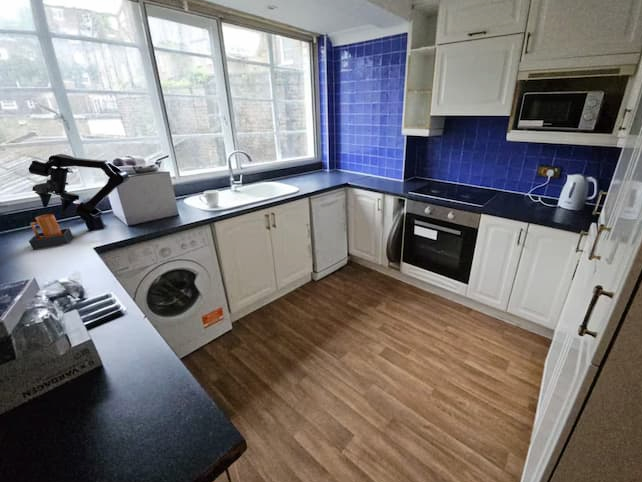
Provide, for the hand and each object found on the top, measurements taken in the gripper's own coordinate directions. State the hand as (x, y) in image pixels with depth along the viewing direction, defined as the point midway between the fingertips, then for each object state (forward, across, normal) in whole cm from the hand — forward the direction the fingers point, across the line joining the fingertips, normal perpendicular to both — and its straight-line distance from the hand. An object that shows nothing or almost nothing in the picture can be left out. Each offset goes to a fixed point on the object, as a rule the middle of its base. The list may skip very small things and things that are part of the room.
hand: (53, 209), depth 150 cm
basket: (+15, +10, -7) cm, 19 cm away
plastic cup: (+7, -3, +26) cm, 28 cm away
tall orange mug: (+14, +9, -7) cm, 18 cm away
